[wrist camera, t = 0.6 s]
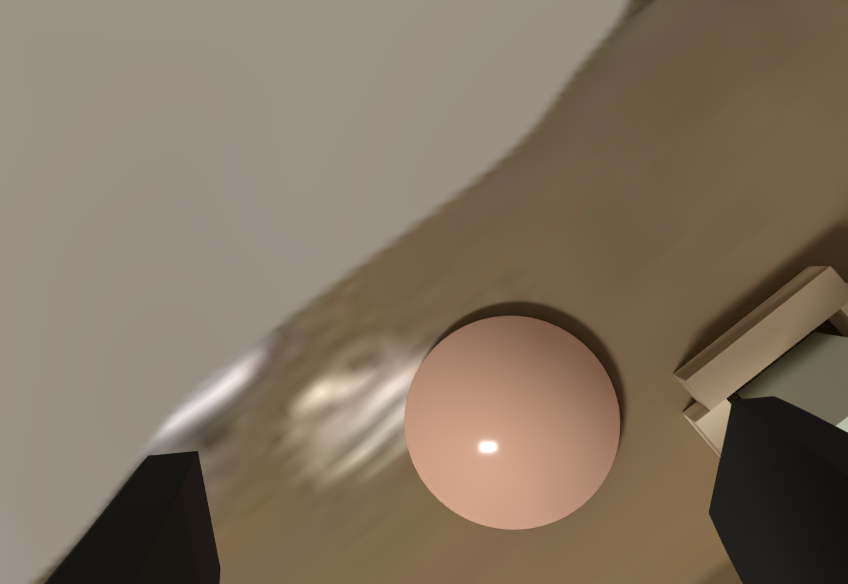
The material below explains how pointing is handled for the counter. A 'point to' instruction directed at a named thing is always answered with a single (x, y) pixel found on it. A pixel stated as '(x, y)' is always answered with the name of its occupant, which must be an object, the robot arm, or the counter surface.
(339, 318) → the counter surface
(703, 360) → the oak holder
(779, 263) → the counter surface
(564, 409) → the terracotta coaster
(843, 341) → the sage peg
